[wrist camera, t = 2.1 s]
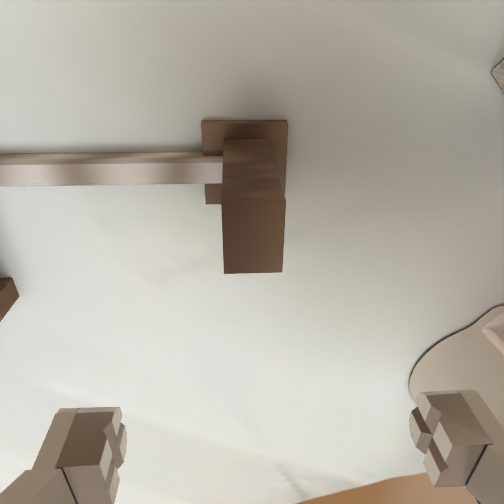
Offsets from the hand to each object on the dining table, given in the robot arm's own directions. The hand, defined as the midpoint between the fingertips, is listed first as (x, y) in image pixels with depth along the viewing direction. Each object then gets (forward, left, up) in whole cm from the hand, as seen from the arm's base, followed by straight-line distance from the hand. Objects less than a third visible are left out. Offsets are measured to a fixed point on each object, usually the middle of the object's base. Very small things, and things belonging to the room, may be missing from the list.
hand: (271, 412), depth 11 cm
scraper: (+9, 0, -22) cm, 24 cm away
